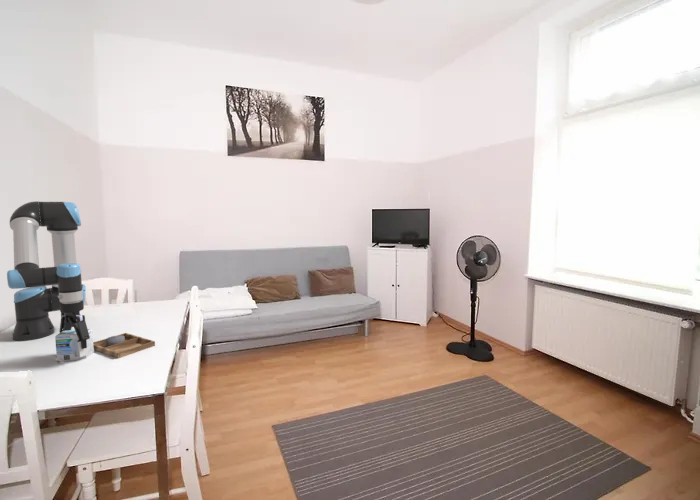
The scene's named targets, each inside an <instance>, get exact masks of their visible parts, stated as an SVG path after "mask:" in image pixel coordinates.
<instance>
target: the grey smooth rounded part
mask: <svg viewBox="0 0 700 500" xmlns="http://www.w3.org/2000/svg"><path fill="white" fill-rule="evenodd" d="M117 335H118V336H117ZM117 335H112V336H109V337H107V338H105V339H106V347H108V346H111V345H115V344H118V343H121V342H124V341H125V337H124V336H122V335H120V334H117Z"/></svg>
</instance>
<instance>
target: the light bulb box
mask: <svg viewBox="0 0 700 500" xmlns="http://www.w3.org/2000/svg"><path fill="white" fill-rule="evenodd" d="M87 329H88V333H89V336H90V339H87V350H88V355H86V356H82V357H79V348H78V342H77V341H78V340H79V339H78V336H77V334H76V331H75V329H71V330H66V331H62V332H61V333H60V332H59V333H58V334H56V335H55V336H54V337H55V351H56V354H55V355H56V362H61V361H74V360H84V359H88V358H89V357H90V356H91V355H93V354H94V353H95V350H94V347H93V342H94V335H93V328H87Z"/></svg>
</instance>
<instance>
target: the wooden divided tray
mask: <svg viewBox="0 0 700 500" xmlns="http://www.w3.org/2000/svg"><path fill="white" fill-rule="evenodd" d="M118 335H122V336H124V337H125V341H124V342H121V343H118V344H115V345H111V346H108V347H106V339H107V338H103V339H100V340H97V341H93V347H94V351H95V352H99V353H101V354H104V355H107V356H110V357H113V358H116V359H120V358H124V357H126V356H130V355H132V354H136V353H138V352H141V351H144V350H147V349H149V348H152V347H156V342H155V340H152V339H148V338H145V337H141V336H138V335H135V334H131V333H127V332H124V333H121V334H117V335H116V336H118Z"/></svg>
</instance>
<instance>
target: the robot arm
mask: <svg viewBox="0 0 700 500" xmlns="http://www.w3.org/2000/svg"><path fill="white" fill-rule="evenodd" d="M79 212H80V211H79V209H78V206H77V204H76V203H75V202H71V201H39V200H38V201H30V202H26V203H24V204H22V205H20V206H19V207H18V208H16V209H15V210H14V211H13V212H12V214H11V216H10V218H9V228H10V229H11V230H12V233H13V235H12V236H13V237H12V238H13V239H12V240H13V264H14V265H13V269H10V270H8V271H7V272H6V279H7V286H8V288H9V289H13V290H17V289H20V290H17V291H16V292H15V293H14V295H13V303H14V311H15V325H14V329H13V331H12V340H13V341H17V342H19V341H33V340H36V339H41V338H45V337H48V336H50V335H53V334H54V333H55V326H54V324H53V322H52V320H51V319H50V316H49V315H50V314H49V313H50V312H58V311H59V312H60V323H59V324H60V326H59V333H61V332H62V331H66V330H72V329H73V328H74V329H73V330H75V331H76V334H77V336H78V339H79V340H78V341H77V342H78V348H79V357H82V356H86V355H88V350H87V339H90V336H89V333H88V329H89V328H88V326H87V323H86V315H85V314H81V313H80V312H81V311H83V310H84V309H85V301H86V293H87V292H86V285H85V284H83V283H82V269H81V264H79V263H78V262H77V253H76V241H75V240H76V239H75V233H76V232H77V231H78V230H79V229H78V227H81V226H82V222H81V221H82V220H81V216H80V213H79ZM40 227H43V228H44V227H46V231H47V232H48V233H49V234H51V245H52V254H53V266H47V267H40V258H39V247H38V245H39V244H38V232H37V230H38V229H39V228H40ZM47 286H51V287H49V288H48V287H47ZM72 327H73V328H72Z"/></svg>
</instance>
